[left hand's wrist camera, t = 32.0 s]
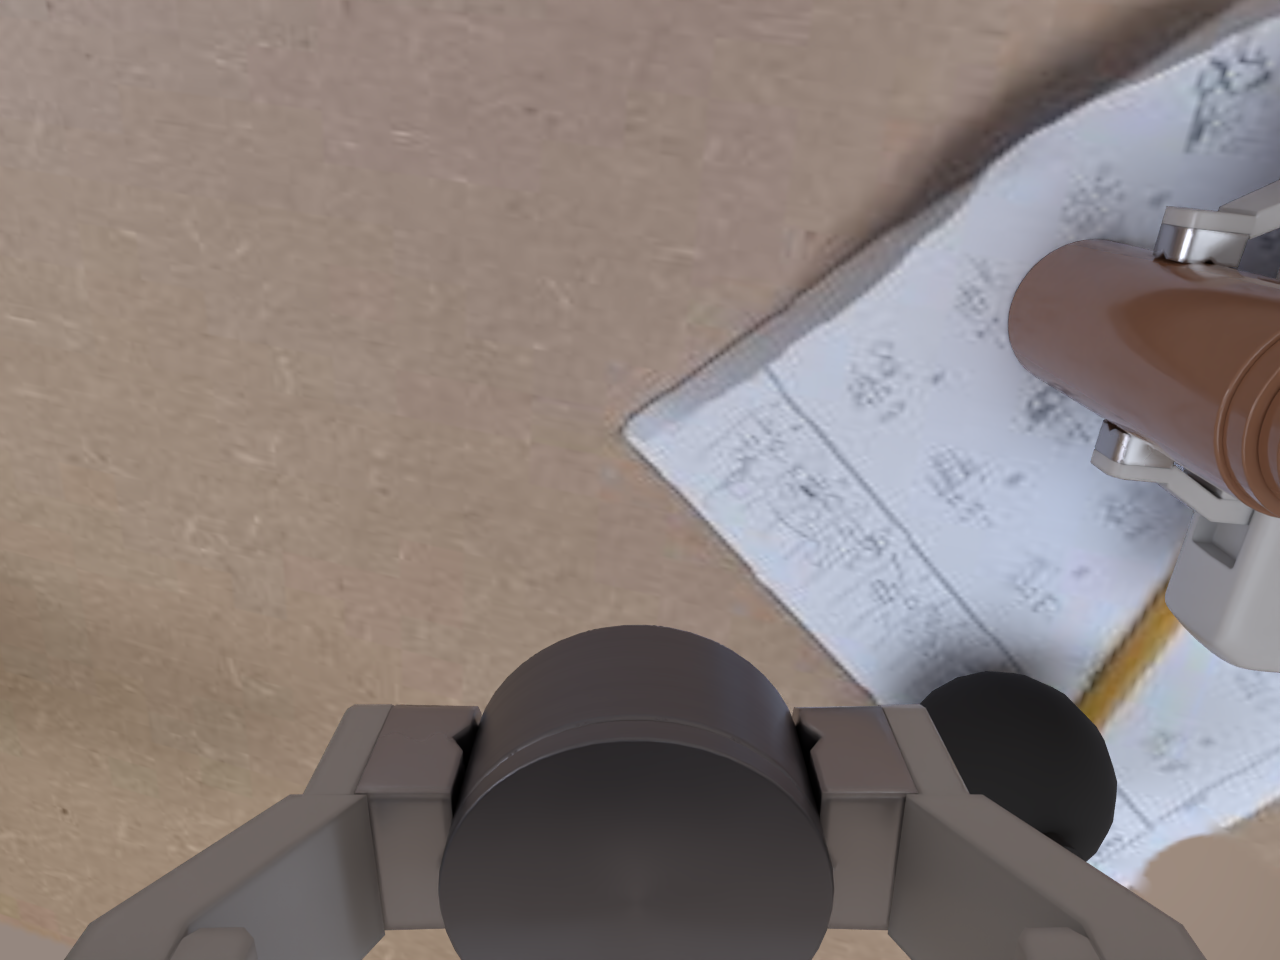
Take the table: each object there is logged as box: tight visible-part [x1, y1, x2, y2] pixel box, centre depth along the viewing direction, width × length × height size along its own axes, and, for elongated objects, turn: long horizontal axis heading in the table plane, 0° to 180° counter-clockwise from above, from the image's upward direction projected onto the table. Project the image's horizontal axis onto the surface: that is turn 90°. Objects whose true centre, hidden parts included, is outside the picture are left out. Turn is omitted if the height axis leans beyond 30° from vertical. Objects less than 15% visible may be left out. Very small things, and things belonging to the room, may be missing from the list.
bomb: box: [920, 671, 1117, 862], centre depth 33 cm, size 8×8×12 cm
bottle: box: [1008, 239, 1280, 518], centre depth 24 cm, size 5×5×18 cm
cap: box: [438, 625, 834, 960], centre depth 10 cm, size 4×4×2 cm
